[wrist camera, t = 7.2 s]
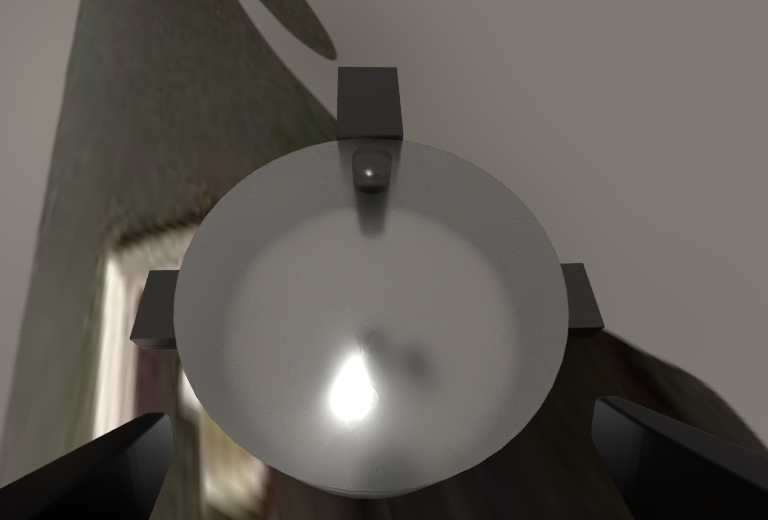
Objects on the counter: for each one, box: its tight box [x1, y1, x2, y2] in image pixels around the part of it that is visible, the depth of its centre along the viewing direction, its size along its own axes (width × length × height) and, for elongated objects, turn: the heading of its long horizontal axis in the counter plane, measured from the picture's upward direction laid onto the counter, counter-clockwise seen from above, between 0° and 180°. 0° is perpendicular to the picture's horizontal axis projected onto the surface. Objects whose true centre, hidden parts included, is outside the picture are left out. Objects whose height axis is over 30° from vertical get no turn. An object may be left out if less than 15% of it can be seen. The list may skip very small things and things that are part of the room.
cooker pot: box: [130, 263, 605, 499], centre depth 19 cm, size 14×19×7 cm
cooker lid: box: [174, 67, 569, 493], centre depth 16 cm, size 19×14×2 cm
